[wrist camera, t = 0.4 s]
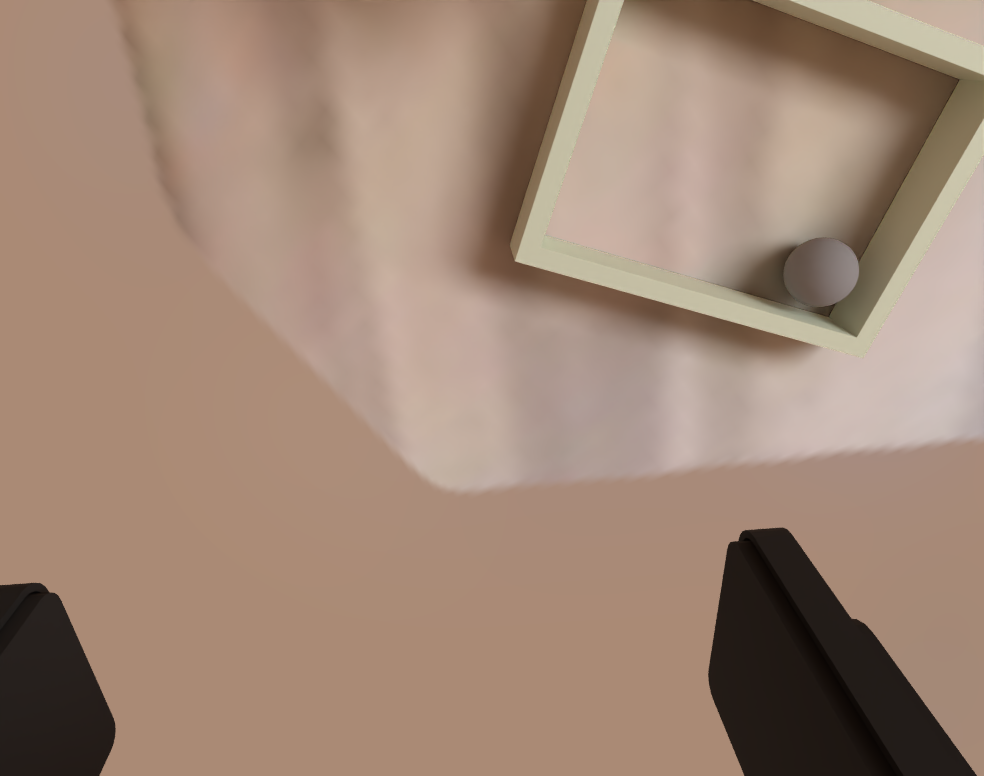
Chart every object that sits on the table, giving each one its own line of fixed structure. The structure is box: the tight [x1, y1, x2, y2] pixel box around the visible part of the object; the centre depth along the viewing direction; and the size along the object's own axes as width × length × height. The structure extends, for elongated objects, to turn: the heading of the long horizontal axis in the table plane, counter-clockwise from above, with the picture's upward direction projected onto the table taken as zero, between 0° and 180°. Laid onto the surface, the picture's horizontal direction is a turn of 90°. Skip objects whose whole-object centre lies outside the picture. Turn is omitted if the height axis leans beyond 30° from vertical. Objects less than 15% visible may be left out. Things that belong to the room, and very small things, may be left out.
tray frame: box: [510, 0, 984, 358], centre depth 33 cm, size 15×20×3 cm
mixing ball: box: [783, 238, 859, 307], centre depth 36 cm, size 4×4×4 cm
